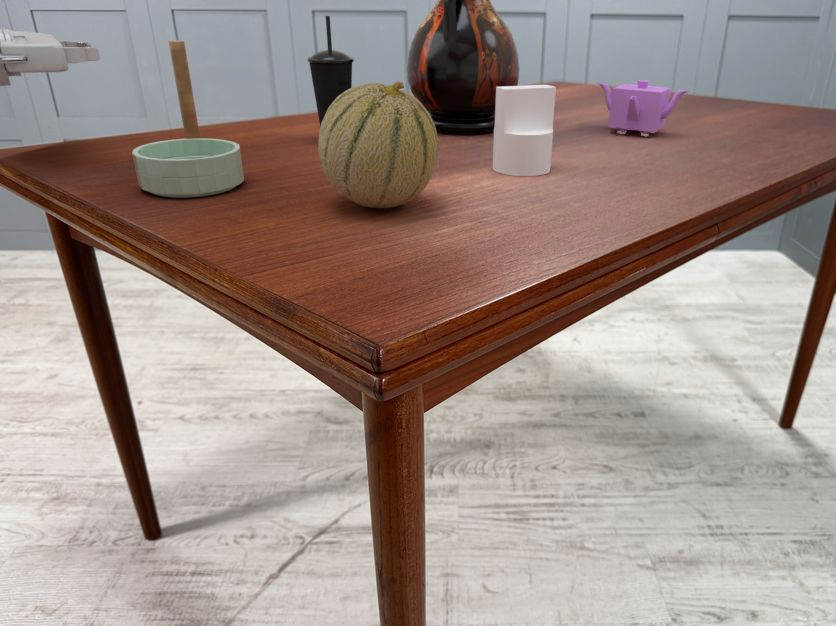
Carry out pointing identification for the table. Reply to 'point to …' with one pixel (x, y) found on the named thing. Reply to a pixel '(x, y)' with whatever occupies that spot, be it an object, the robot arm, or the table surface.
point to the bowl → (188, 167)
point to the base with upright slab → (523, 130)
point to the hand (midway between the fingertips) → (94, 50)
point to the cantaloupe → (378, 145)
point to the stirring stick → (184, 88)
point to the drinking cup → (329, 74)
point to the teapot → (639, 106)
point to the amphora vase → (462, 65)
